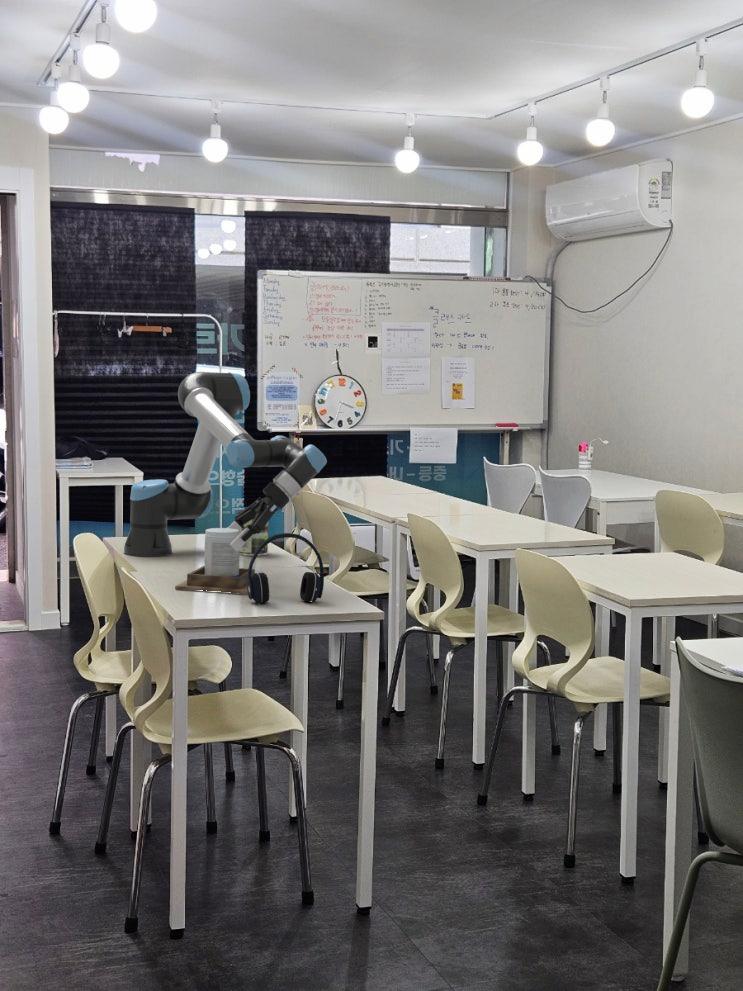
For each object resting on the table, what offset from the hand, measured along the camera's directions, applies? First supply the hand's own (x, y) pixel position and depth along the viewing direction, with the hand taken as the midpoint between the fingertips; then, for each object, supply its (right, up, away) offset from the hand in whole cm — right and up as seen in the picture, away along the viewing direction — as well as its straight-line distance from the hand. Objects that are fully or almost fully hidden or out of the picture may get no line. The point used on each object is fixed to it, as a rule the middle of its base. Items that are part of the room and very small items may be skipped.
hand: (227, 544), depth 326 cm
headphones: (+17, -15, -18) cm, 29 cm away
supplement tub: (-2, -11, +2) cm, 11 cm away
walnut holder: (-2, -12, +1) cm, 12 cm away
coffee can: (+1, -6, +60) cm, 61 cm away
